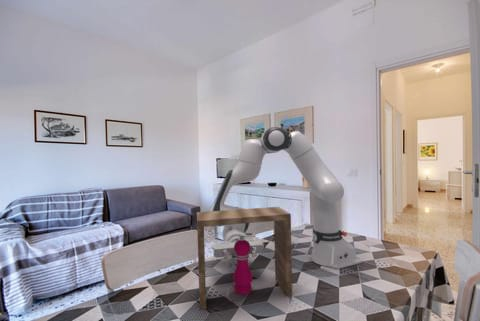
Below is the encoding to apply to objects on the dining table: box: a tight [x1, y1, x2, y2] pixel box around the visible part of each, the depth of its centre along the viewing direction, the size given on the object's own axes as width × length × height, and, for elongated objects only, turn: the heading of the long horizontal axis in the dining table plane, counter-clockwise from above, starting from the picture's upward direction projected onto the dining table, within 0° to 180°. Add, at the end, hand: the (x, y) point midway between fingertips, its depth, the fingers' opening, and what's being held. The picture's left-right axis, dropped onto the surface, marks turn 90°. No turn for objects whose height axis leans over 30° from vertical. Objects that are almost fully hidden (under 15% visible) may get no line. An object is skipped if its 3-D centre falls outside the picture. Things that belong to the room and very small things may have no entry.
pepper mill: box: [232, 236, 254, 295], centre depth 89 cm, size 7×7×20 cm
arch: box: [196, 206, 293, 310], centre depth 87 cm, size 32×12×29 cm, turn 101°
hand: (242, 255), depth 89 cm, fingers open, 8 cm apart
